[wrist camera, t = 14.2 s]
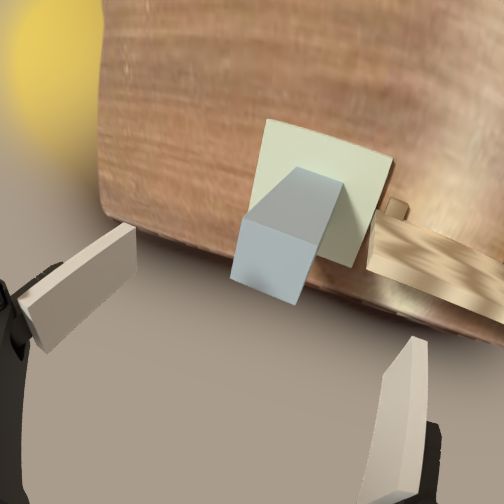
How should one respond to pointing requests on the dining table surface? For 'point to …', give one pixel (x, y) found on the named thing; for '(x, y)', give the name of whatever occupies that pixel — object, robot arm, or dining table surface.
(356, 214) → the mat
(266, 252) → the block
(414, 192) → the dining table surface
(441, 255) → the birch screen
